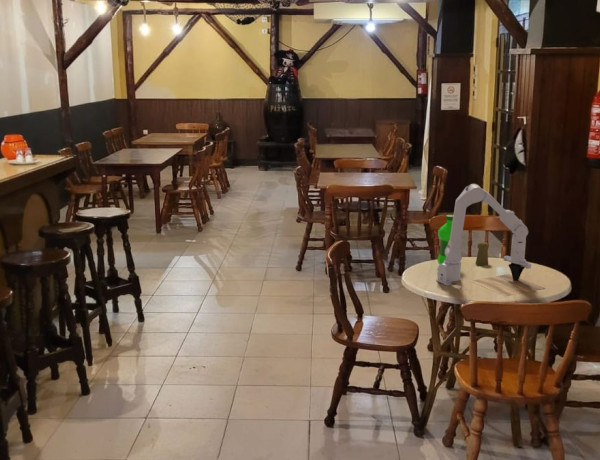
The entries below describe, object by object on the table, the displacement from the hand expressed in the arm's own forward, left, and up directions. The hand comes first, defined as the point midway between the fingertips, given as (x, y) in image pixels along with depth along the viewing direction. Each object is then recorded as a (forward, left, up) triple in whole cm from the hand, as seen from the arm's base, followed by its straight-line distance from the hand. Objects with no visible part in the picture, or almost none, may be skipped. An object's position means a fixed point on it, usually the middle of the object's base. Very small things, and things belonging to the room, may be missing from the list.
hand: (515, 280), depth 291 cm
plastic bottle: (-12, +32, -2) cm, 34 cm away
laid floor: (-12, -3, -2) cm, 12 cm away
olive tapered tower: (+6, +29, -2) cm, 30 cm away
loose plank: (0, -3, -1) cm, 3 cm away
